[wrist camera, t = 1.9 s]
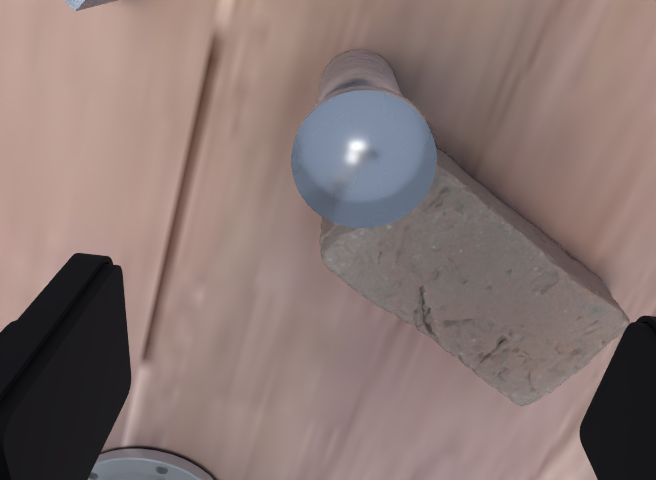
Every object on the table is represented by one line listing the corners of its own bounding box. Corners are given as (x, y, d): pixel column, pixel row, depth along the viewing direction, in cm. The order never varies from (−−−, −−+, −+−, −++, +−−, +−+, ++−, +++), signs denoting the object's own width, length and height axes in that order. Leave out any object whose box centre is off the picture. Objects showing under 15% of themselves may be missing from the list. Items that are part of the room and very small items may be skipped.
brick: (313, 227, 33) (308, 268, 29) (408, 118, 29) (418, 148, 25) (507, 362, 37) (527, 415, 33) (608, 281, 34) (644, 329, 30)
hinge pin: (425, 98, 29) (464, 176, 19) (348, 154, 30) (350, 252, 21) (368, 17, 27) (380, 58, 17) (289, 81, 28) (261, 151, 19)
